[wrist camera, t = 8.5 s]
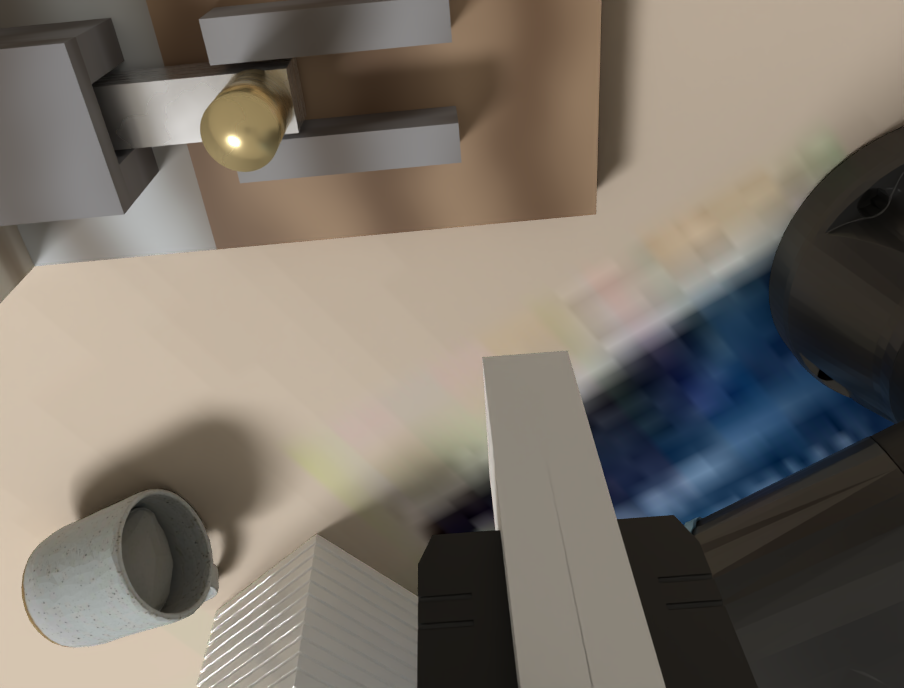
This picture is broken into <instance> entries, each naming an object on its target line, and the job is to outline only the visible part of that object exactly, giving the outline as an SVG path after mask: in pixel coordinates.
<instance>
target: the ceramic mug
mask: <svg viewBox="0 0 904 688" xmlns="http://www.w3.org/2000/svg"><path fill="white" fill-rule="evenodd" d="M218 579H219V574H218V568H217V566H216V565H215V564H213V558H212V549H211V545H210V540H209V537H208V535H207V532H206V529H205V527H204V525H203V523H202V521H201V520H200V518H199V516H198V515H197V513H196V512H195V511H194V509H193V508H192V507H191V506H190V505H189V504H188V503H187V502H186V501H185V500H184V499H182V498H181V497H180V496H179V495H177V494H175V493H173V492H171V491H167V490H163V489H149V490H146V491H142V492H139V493H137V494H135V495H133V496H131V497H129V498H126V499H124V500H122V501H120V502H118V503H116V504H114V505H111V506H109V507H107V508H105V509H102V510H100V511H98V512H96V513H94V514H92V515H89V516H87V517H85V518H83V519H81V520H78V521H76V522H73V523H71V524H69V525H67V526H64V527H63V528H61V529H59V530H58V531H56V532H54V533H53V534H52V535H50V536H49V537H48V538H46V539H45V540H44V541H43V542H41V543H40V544H39V545H38V546H37V547H36V549H35V550H34V551H33V552H32V554H31V555H30V557H29V559H28V561H27V564H26V566H25V569H24V573H23V579H22V599H23V603H24V607H25V610H26V613H27V615H28V618H29V620H30V622H31V623H32V624H33V626H34V627H35V628H36V630H37V631H38V632H39V633H40V634H41V635H42V636H44V637H45V638H46V639H48V640H49V641H51V642H52V643H55V644H58V645H61V646H64V647H74V648H75V647H88V646H95V645H99V644H104V643H108V642H110V641H113V640H116V639H119V638H122V637H124V636H128V635H131V634H135V633H139V632H142V631H146V630H149V629H153V628H156V627H160V626H163V625H167V624H171V623H174V622H177V621H179V620H181V619H184V618H186V617H188V616H190V615H192V614H193V613H194V612H195V611H196V610H197V609H198V608H199V607H200V606H201V605H202V604H203V602H205V601H207V600H209V599H211V598H213V597H214V596H216V594H217V592H218V588H219V583H218Z"/></svg>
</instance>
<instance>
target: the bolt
mask: <svg viewBox="0 0 904 688" xmlns="http://www.w3.org/2000/svg"><path fill="white" fill-rule="evenodd" d="M92 87H93V90H94V93H95V95H96V98H97V101H98V104H99V107H100V110H101V113H102V116H103V119H104V122H105V125H106V128H107V131H108V133H109V136H110V139H111V142H112V145H113V148H114V150H123V149H133V148H144V147H154V146H165V145H176V144H186V143H197V142H203V145H204V147H205V149H206V150H207V152H208V153H209V154H210V156H211V157H212V158H213V159H214V160H215V161H217V162H218V163H219V164H221V165H222V166H224V167H226V168H228V169H231V170H234V171H239V172H250V171H255V170H258V169H260V168H262V167H264V166H265V165H267V164H268V163H269V162H270V161H271V160H272V158H273V157H274V155H275V153H276V151H277V149H278V147H279V145H280V143H281V141H282V138H283V136H284V134H292V133H299V131H300V129H301V127H302V124H303V122H304V119H305V117H306V115H307V114H306V109H305V104H304V98H303V93H302V88H301V83H300V77H299V72H298V67H297V62H296V57H294V58H284V59H273V60H263V61H253V62H242V63H232V64H221V65H211V66H210V63H209V62H206V63H196V64H185V65H175V66H164V67H154V68H144V69H133V70H123V71H112V72H108V73H107V74H105V75H104V76H102V77H101V78H100V79H98V80H97V81H95V82H94V83H93V84H92Z"/></svg>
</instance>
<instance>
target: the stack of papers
mask: <svg viewBox="0 0 904 688" xmlns="http://www.w3.org/2000/svg"><path fill="white" fill-rule="evenodd" d="M214 620H216V621H215V622H213V625H212V629H211V632H212V634H211V635H210V637H209V640H208V645H210V646H208V647H207V648H206V652H205V655H204V658H206V659H205V660H204V661H203V663H202V667H201V672H203V673H201V674H200V675H199V678H198V682H197V686H199V687H198V688H417V640H418V596H416V595H415V594H413V593H412V592H410V591H408V590H407V589H405V588H404V587H402V586H400V585H399V584H397V583H395V582H394V581H392V580H391V579H389V578H387V577H386V576H384V575H383V574H381V573H379V572H378V571H376V570H374V569H373V568H371V567H370V566H368V565H366V564H365V563H363V562H362V561H360V560H358V559H357V558H355V557H354V556H352V555H350V554H349V553H347V552H345V551H344V550H342V549H341V548H339V547H337V546H336V545H334V544H333V543H331V542H329V541H328V540H326V539H325V538H323V537H321V536H320V535H318V534H315V535H314V536H313V537H312V538H310V539H309V540H308V541H306V542H305V543H304V544H302V545H301V546H300V547H299V548H297V549H296V550H295V551H293V552H292V553H291V554H290V555H288V556H287V557H286V558H284V559H283V560H282V561H280V562H279V563H278V564H277V565H275V566H274V567H273V568H271V569H270V570H269V571H268V572H266V573H265V574H264V575H262V576H261V577H260V578H258V579H257V580H256V581H255V582H253V583H252V584H251V585H249V586H248V587H247V588H246V589H244V590H243V591H242V592H240V593H239V594H238V595H236V596H235V597H234V598H233V599H231V600H230V601H229V602H227V603H226V604H225V605H223V606H222V607H221V608H220V609H218V610H217V611H216V614H215V618H214Z"/></svg>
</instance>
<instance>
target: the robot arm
mask: <svg viewBox="0 0 904 688" xmlns="http://www.w3.org/2000/svg"><path fill="white" fill-rule="evenodd" d="M769 302H770V310H771V314H772V318H773V321H774V324H775V326H776V329H777V331H778V333H779V335H780V336H781V338H782V339H783V341H784V342H785V344H786V345H787V346H788V348H789V349H790V350H791V352H792V353H793V354H794V356H795V357H796V358H797V360H798V361H799V362H800V363H801V365H802V366H803V367H804V368H805V369H806V370H807V371H808V372H809V373H810V374H811V375H812V376H814V377H815V378H816V379H817V380H818V381H820V382H821V383H822V384H824V385H825V386H827V387H829V388H831V389H833V390H834V391H836V392H838V393H841V394H843V395H845V396H848V397H850V398H852V399H853V400H854V401H856V402H857V403H859V404H860V405H862V406H864V407H865V408H867V409H869V410H871V411H873V412H875V413H877V414H878V415H880V416H882V417H884V418H886V419H888V420H889V421H891V422H893V423H895V424H894V425H892V426H890V427H888V428H886V429H884V430H882V431H880V432H878V433H876V434H874V435H872V436H870V437H866V438H864V439H862V440H860V441H858V442H856V443H854V444H852V445H850V446H848V447H846V448H844V449H842V450H840V451H838V452H836V453H834V454H832V455H830V456H828V457H826V458H824V459H822V460H820V461H818V462H816V463H814V464H812V465H810V466H808V467H806V468H804V469H802V470H800V471H798V472H796V473H794V474H792V475H790V476H788V477H786V478H784V479H782V480H780V481H778V482H775V483H773V484H771V485H769V486H767V487H765V488H763V489H761V490H759V491H757V492H755V493H753V494H751V495H749V496H747V497H745V498H743V499H741V500H739V501H737V502H735V503H733V504H731V505H729V506H727V507H725V508H723V509H721V510H719V511H717V512H715V513H713V514H711V515H709V516H707V517H705V518H703V519H702V518H701V517H699V518H696V519H693V520H691V521H690V522H686V523H685V525H683V524H682V523H681V522H680V521H679V520H678V519H677V518H676V517H675V516H674V515H669V516H656V517H642V518H629V519H616V515H615V512H614V508H613V505H612V502H611V498H610V495H609V491H608V488H607V484H606V481H605V478H604V474H603V471H602V467H601V464H600V460H599V457H598V454H597V450H596V447H595V443H594V440H593V437H592V433H591V430H590V426H589V423H588V419H587V416H586V413H585V409H584V406H583V402H582V399H581V395H580V392H579V389H578V385H577V382H576V378H575V375H574V371H573V368H572V365H571V361H570V358H569V354H568V351H557V352H544V353H531V354H518V355H505V356H492V357H482V360H483V376H484V392H485V409H486V425H487V441H488V458H489V473H490V483H491V492H492V502H493V511H494V521H495V531H481V532H468V533H454V534H441V535H432V537H431V539H430V541H429V543H428V545H427V547H426V549H425V551H424V553H423V556H422V558H421V560H420V562H419V564H418V640H417V688H904V127H902V128H900V129H897V130H895V131H893V132H891V133H889V134H887V135H885V136H883V137H881V138H879V139H877V140H876V141H874V142H872V143H870V144H869V145H867V146H866V147H864V148H862V149H861V150H859V151H858V152H857V153H855V154H854V155H852V156H851V157H850V158H848V159H847V160H846V161H844V162H843V163H842V164H841V165H839V166H838V167H837V168H836V169H835V170H834V171H833V172H831V173H830V174H829V175H828V176H827V177H826V178H825V179H824V180H823V181H822V182H821V183H820V184H819V185H818V186H817V187H816V188H815V189H814V191H813V192H812V193H811V194H810V195H809V196H808V198H807V199H806V200H805V201H804V203H803V204H802V205H801V207H800V208H799V210H798V211H797V212H796V214H795V215H794V217H793V219H792V220H791V222H790V223H789V225H788V227H787V229H786V231H785V233H784V235H783V237H782V239H781V241H780V243H779V246H778V249H777V251H776V254H775V257H774V261H773V265H772V269H771V274H770V282H769Z"/></svg>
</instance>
